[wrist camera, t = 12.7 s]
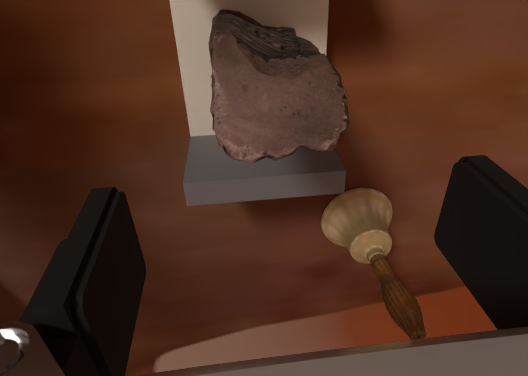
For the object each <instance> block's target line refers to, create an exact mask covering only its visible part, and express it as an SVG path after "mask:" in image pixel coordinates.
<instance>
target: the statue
mask: <svg viewBox="0 0 528 376" xmlns="http://www.w3.org/2000/svg"><path fill="white" fill-rule="evenodd" d="M208 44H209V52H210V58H211V59H210V62H211V66H212V75H211V78H212V84H211V87H212V101H211V107H210V112H211V114H212V117H213V126H212V130H214V132H215V135H216V138H217V141H218V144H219V147H220V146H222V148H223V149H224V151H225V153H226V155H228V156H229V157H230V158H232V159H233V160H239V161H243V162H247V163H251V164H252V163H255V162H257V161H260V160H262V159H264V158H266V157H267V158H270V159H272V160H274V161H276V160H279V159H281V158H284V157H287V156H290V155H292V154H294V153H295V151H296V150H297V149H298V147H299V146H300V147H304V148H308V149H312V150H316V151H319V152H328V151H333V150H334V148H335V147H336V146H337V144H338V142H339V137H340V136H342V135H344V133H345V130H346V128H347V127H348V125H349V124H350V123H349V116H348V108H347V98H346V96H345V93H346V92H347V90H346V89H345V88H344V87H343V86H342V83H341V76H340V75H339V73H338V72H337V70H336V69H335V68H334V66H333V65H332V64H331V62H330V60H329V59H328V58H327V56H326V55H325V54H321V53H320V52H319V49H318V48H317V47H316V46H315V45H314V44H312V42H311V41H309V40H306V39H304V38H301V37H297V36H296V31H295V29H294V28H291V27H279V28H277V27H269V26H263V25H262V24H260V23H259V22H257V21H256V20H254V19H253V18H251V17H249V16H247V15H245V14H243V13H241V12H239V11H233V10H220V11H219V13H218V14H217V15H216V16H215V17H213V19H212V28H211V33H210V38H209V42H208Z"/></svg>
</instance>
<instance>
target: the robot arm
mask: <svg viewBox="0 0 528 376" xmlns="http://www.w3.org/2000/svg"><path fill="white" fill-rule="evenodd" d="M434 239H435V243H436V245H437V247H438V248H439V250H440V251H441V252H442V254H443V255H444V256H445V258H446V259H447V261H448V262H449V263H450V265H451V266H452V267H453V269H454V270H455V272H456V273H457V274H458V276H459V277H460V278H461V280H462V281H463V283H464V284H465V285H466V287H467V288H468V289H469V290H470V292H471V294H472V295H473V296H474V298H475V299H476V300H477V302H478V303H479V305H480V306H481V307H482V309H483V310H484V311H485V313H486V314H487V316H488V317H489V318H490V319H491V321H492V322H493V324H494V325H495V327H496V328H497V329H498V330H494V331H485V332H477V333H468V334H459V335H450V336H442V337H434V338H425V339H417V340H408V341H400V342H393V343H384V344H376V345H367V346H359V347H351V348H342V349H334V350H326V351H318V352H309V353H302V354H294V355H286V356H278V357H270V358H262V359H254V360H246V361H238V362H231V363H223V364H214V365H207V366H200V367H192V368H186V369H179V370H172V371H164V372H157V373H150V374H143V375H136V376H528V189H527V188H526V187H525V186H523V185H522V184H521V183H519V182H518V181H517V180H516V179H514V178H513V177H512V176H511V175H509V174H508V173H507V172H506V171H504V170H503V169H502V168H501V167H499V166H498V165H497V164H496V163H494V162H493V161H492V160H490V159H489V158H488V157H486V156H484V155H479V156H467V157H462V158H461V159H460V160H459V162H457V163H455V164H454V166H453V169H452V173H451V176H450V180H449V183H448V187H447V191H446V194H445V198H444V201H443V205H442V209H441V212H440V216H439V220H438V223H437V227H436V230H435V235H434ZM145 275H146V267H145V262H144V258H143V255H142V251H141V248H140V244H139V241H138V237H137V234H136V230H135V227H134V223H133V220H132V216H131V213H130V209H129V206H128V202H127V199H126V196H125V193H124V192H118V190H117V189H116V188H115V187H109V188H97V189H92V190H91V192H90V194H89V196H88V198H87V200H86V202H85V204H84V206H83V208H82V210H81V212H80V214H79V216H78V218H77V220H76V222H75V224H74V226H73V228H72V230H71V232H70V234H69V236H68V238H67V239H65V240H63V241H61V243H60V244H59V245H58V247H57V249H56V251H55V253H54V255H53V257H52V259H51V261H50V263H49V265H48V267H47V269H46V271H45V273H44V274H43V276H42V278H41V280H40V282H39V284H38V286H37V288H36V290H35V292H34V294H33V296H32V298H31V300H30V302H29V304H28V305H27V307H26V309H25V311H24V313H23V315H22V317H21V319H20V321H19V322H9V323H5V324H1V325H0V376H125V372H126V367H127V362H128V357H129V352H130V348H131V343H132V338H133V333H134V328H135V324H136V319H137V314H138V309H139V304H140V300H141V295H142V290H143V285H144V281H145Z"/></svg>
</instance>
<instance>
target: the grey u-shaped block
mask: <svg viewBox="0 0 528 376" xmlns="http://www.w3.org/2000/svg"><path fill="white" fill-rule="evenodd" d="M170 6H171V13H172V19H173V26H174V32H175V39H176V45H177V52H178V58H179V65H180V71H181V77H182V84H183V90H184V97H185V103H186V110H187V116H188V123H189V129H190V136H191V137H190V143H189V149H188V155H187V161H186V167H185V173H184V179H183V188H184V193H185V199H186V204H187V206H194V205H206V204H218V203H230V202H242V201H255V200H267V199H279V198H291V197H303V196H316V195H328V194H340V193H344V191H345V180H346V169H345V167H344V165H343V163H342V162H341V160H340V158H339V156H338V154H337V153H336V151H335V149H334V150H333V151H328V152H319V151H316V150H312V149H308V148H304V147H300V146H299V147H298V149H297V150H296V151H295V153H294V154H292V155H290V156H287V157H284V158H281V159H279V160H276V161H274V160H272V159H270V158H267V157H266V158H264V159H262V160H260V161H257V162H255V163H252V164H251V163H247V162H243V161H239V160H233V159H232V158H230V157H229V156H228V155H226V153H225V151H224V149H223V148H222V146H220V147H219V144H218V141H217V138H216V135H215V132H214V130H212V126H213V117H212V114H211V112H210V107H211V101H212V87H211V84H212V78H211V75H212V66H211V62H210V59H211V58H210V52H209V44H208V42H209V38H210V33H211V28H212V19H213V17H215V16H216V15H217V14H218V13H219V11H220V10H233V11H239V12H241V13H243V14H245V15H247V16H249V17H251V18H253V19H254V20H256V21H257V22H259V23H260V24H262V25H263V26H269V27H277V28H279V27H291V28H294V29H295V31H296V36H297V37H301V38H304V39H306V40H309V41H311V42H312V44H314V45H315V46H316V47H317V48H318V49H319V52H320V53H321V54H325V55H326V49H327V29H328V9H329V0H170Z"/></svg>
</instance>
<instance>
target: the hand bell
mask: <svg viewBox="0 0 528 376" xmlns="http://www.w3.org/2000/svg"><path fill="white" fill-rule="evenodd" d="M392 214H393V210H392V205H391V202H390V200H389V199H388V198H387V196H386V195H385V194H383V193H382V192H380V191H378V190H375V189H372V188H355V189H351V190H348V191H345V192H344V193H341V194H340V195H338V196H337V197H335V198H334V199H333V200H332V201H331V202H330V203H329V204H328V205H327V207H326V208H325V210H324V212H323V214H322V218H321V227H322V231H323V233H324V235H325V236H326V237H327V238H328V239H329V240H330V241H331V242H333V243H335V244H337V245H339V246H342V247H346V248H347V250H348V251H349V253H350V254H351V256H352V257H353V258H354V259H355V260H356V261H358V262H360V263H365V264H369V263H370V264H371V266H372V267H373V269H374V271H375V273H376V275H377V276H378V278H379V280H380V282H381V287H382V295H383V299H384V302H385V305H386V308H387V310H388V312H389V314H390V315H391V317H392V319H393V320H394V321H395V323H396V324H397V325H398V326H399V327H400V328H402V330H403V331H404V332H405V333H406V334H407V335H408V336H409V337H410V339H411V340H417V339H424V338H425V337H426V332H425V329H424V325H423V318H422V313H421V309H420V306H419V304H418V302H417V300H416V298H415V297H414V295H413V293H412V292H411V291H410V289H409V288H408V287H407V286H406V285H405V284H404V283H403V282H402V281H401V280H400V279H399V278H398V277H397V276H396V275H395V273H394V271H393V269H392V267H391V265H390V263H389V261H388V259H387V257H386V256H387V254H388V253H389V252H390V250H391V247H392V239H391V237H390V234H389V231H388V227H389V225H390V223H391V220H392Z"/></svg>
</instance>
